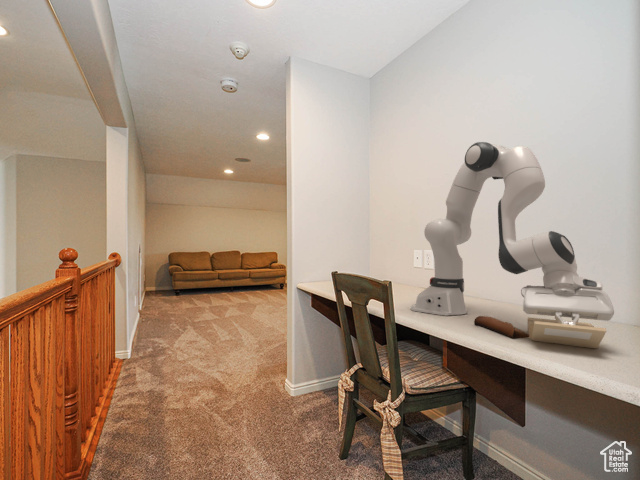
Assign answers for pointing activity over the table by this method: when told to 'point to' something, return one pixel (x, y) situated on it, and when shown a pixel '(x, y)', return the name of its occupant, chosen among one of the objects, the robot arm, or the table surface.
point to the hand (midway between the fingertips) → (568, 329)
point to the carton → (531, 321)
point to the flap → (568, 334)
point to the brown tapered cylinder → (500, 327)
